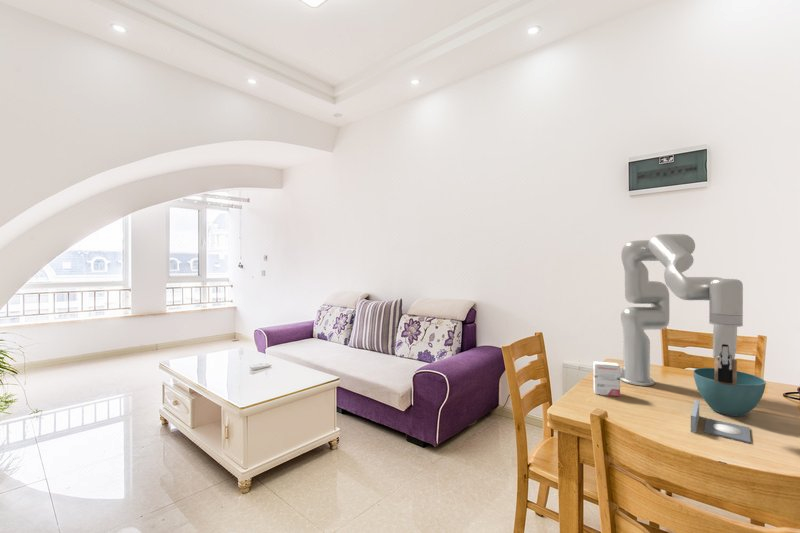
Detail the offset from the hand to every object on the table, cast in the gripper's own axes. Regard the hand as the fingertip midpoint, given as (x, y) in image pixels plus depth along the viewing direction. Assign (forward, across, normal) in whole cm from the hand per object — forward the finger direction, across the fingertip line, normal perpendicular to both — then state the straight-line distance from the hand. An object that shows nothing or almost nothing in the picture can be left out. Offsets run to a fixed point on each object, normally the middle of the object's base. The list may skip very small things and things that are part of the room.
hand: (725, 379), depth 110 cm
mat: (+16, 0, 0) cm, 16 cm away
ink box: (+16, -11, -35) cm, 40 cm away
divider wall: (+16, 0, -7) cm, 17 cm away
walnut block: (+1, 0, 0) cm, 1 cm away
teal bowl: (+16, -19, 0) cm, 25 cm away
